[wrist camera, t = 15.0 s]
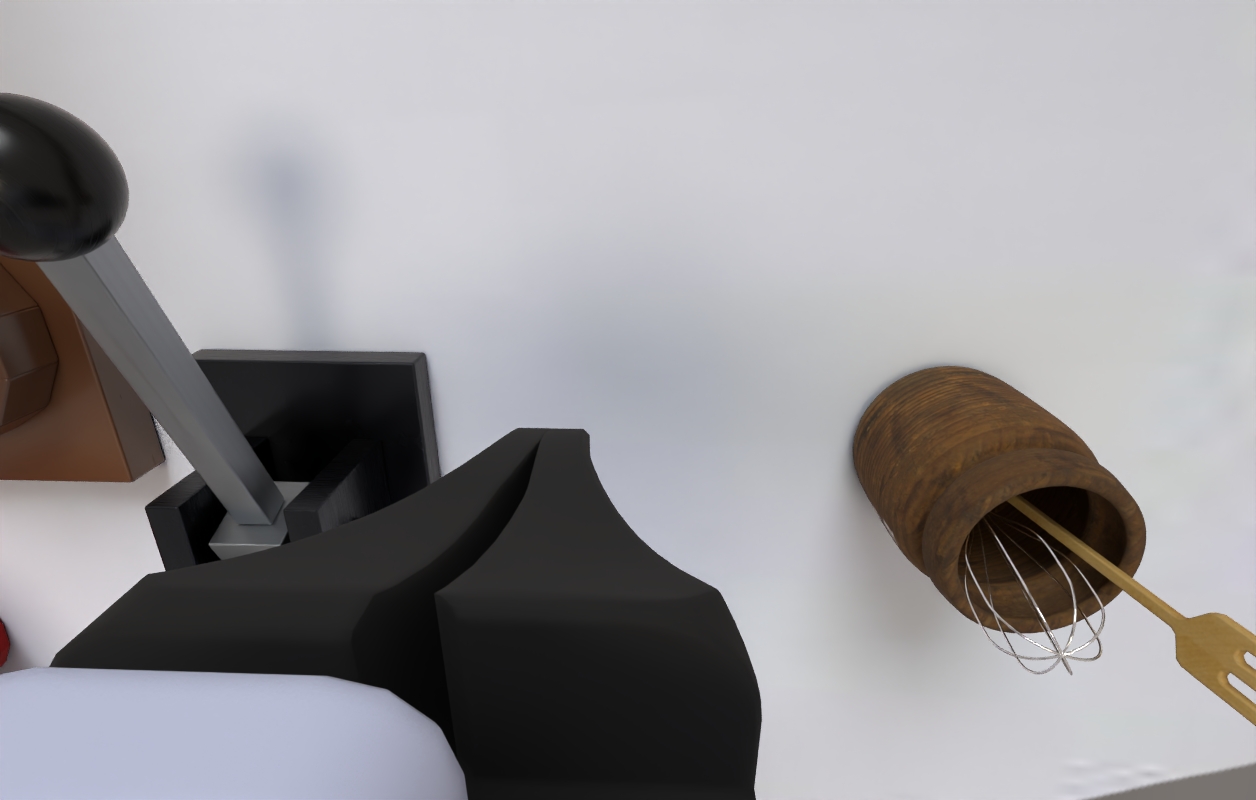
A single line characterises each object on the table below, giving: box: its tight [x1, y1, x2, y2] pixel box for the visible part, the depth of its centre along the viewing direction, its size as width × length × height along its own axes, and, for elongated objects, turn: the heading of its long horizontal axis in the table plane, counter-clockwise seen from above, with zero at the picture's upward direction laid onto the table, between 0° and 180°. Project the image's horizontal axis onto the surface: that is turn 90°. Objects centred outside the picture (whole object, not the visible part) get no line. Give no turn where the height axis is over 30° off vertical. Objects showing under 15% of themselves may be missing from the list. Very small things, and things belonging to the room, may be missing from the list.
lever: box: [0, 93, 310, 560], centre depth 16 cm, size 15×3×3 cm, turn 0°
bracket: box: [145, 350, 440, 571], centre depth 21 cm, size 10×8×6 cm
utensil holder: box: [853, 366, 1256, 726], centre depth 17 cm, size 6×6×12 cm
